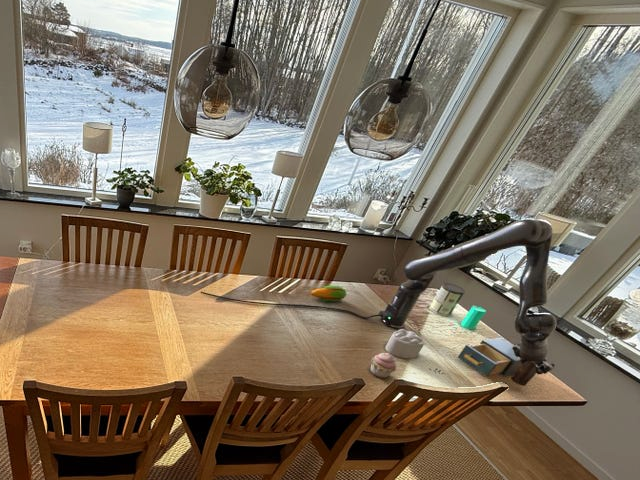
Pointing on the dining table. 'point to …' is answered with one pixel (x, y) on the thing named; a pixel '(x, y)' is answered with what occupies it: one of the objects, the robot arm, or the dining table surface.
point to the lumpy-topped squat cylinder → (405, 344)
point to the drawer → (484, 359)
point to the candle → (473, 317)
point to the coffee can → (447, 299)
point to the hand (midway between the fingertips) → (532, 368)
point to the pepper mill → (524, 373)
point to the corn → (329, 293)
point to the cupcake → (383, 365)
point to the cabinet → (505, 354)
